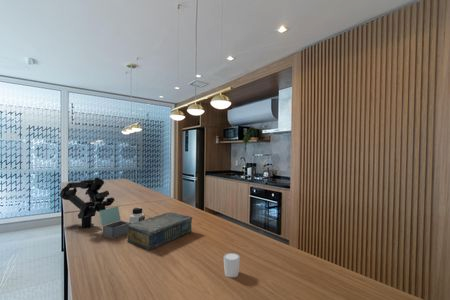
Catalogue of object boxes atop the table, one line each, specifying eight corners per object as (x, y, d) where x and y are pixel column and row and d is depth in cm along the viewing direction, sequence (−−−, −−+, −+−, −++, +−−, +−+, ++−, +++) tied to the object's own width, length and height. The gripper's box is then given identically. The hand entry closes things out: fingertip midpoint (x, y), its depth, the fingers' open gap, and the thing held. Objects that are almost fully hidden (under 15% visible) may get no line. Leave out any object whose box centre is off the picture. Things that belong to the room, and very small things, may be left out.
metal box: (193, 232, 136) (193, 216, 136) (150, 251, 109) (150, 231, 109) (169, 226, 148) (169, 211, 148) (125, 242, 120) (125, 224, 121)
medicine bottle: (138, 228, 143) (139, 209, 143) (129, 227, 144) (129, 209, 144) (144, 224, 150) (145, 207, 150) (135, 223, 151) (135, 206, 151)
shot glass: (222, 269, 92) (222, 252, 92) (238, 268, 93) (238, 252, 93) (224, 278, 86) (224, 260, 86) (241, 277, 86) (241, 260, 86)
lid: (102, 225, 128) (101, 226, 128) (120, 220, 139) (119, 220, 139) (99, 210, 129) (99, 210, 130) (118, 206, 140) (117, 206, 141)
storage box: (102, 236, 128) (103, 226, 128) (120, 230, 138) (120, 220, 139) (112, 239, 124) (113, 228, 124) (130, 232, 134) (130, 222, 135)
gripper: (85, 189, 131) (96, 209, 126) (113, 185, 148) (123, 203, 142) (77, 200, 134) (87, 221, 129) (105, 195, 151) (115, 213, 146)
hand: (104, 214), depth 137 cm, fingers closed
